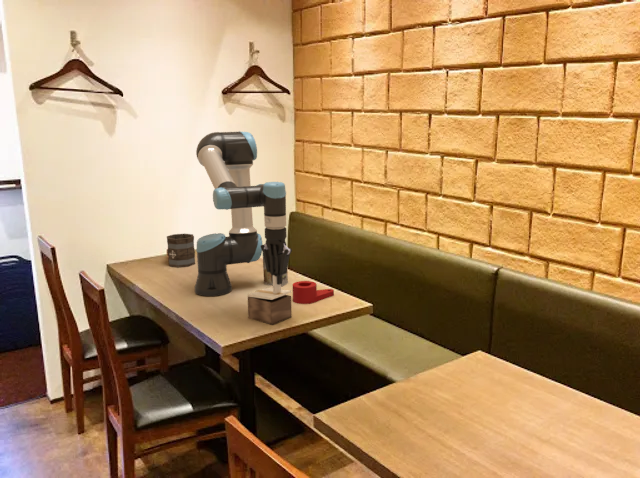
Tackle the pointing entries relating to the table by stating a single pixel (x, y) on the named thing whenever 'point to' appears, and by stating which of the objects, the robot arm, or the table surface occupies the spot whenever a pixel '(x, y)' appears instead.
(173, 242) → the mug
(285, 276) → the coffee box
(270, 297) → the lid
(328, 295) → the lever
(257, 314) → the box
